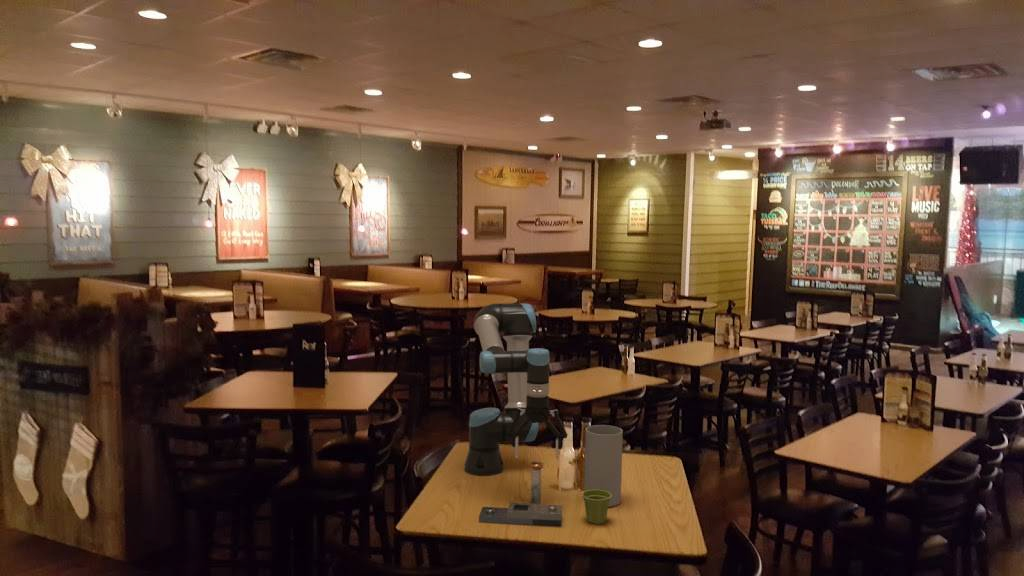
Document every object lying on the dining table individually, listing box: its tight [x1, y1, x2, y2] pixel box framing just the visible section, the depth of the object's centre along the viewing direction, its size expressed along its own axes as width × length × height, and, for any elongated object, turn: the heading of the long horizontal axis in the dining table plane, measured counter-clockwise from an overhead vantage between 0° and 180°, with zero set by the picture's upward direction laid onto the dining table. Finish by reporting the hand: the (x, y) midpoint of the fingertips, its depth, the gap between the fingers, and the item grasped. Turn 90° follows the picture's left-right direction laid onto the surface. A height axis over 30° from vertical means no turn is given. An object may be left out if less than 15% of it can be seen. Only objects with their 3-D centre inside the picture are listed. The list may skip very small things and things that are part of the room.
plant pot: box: [581, 490, 612, 525], centre depth 237 cm, size 9×9×9 cm
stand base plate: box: [478, 501, 563, 528], centre depth 237 cm, size 26×8×5 cm, turn 84°
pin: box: [529, 461, 544, 504], centre depth 250 cm, size 4×4×14 cm
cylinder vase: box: [583, 424, 624, 508], centre depth 253 cm, size 12×12×25 cm
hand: (536, 457), depth 249 cm, fingers open, 13 cm apart
